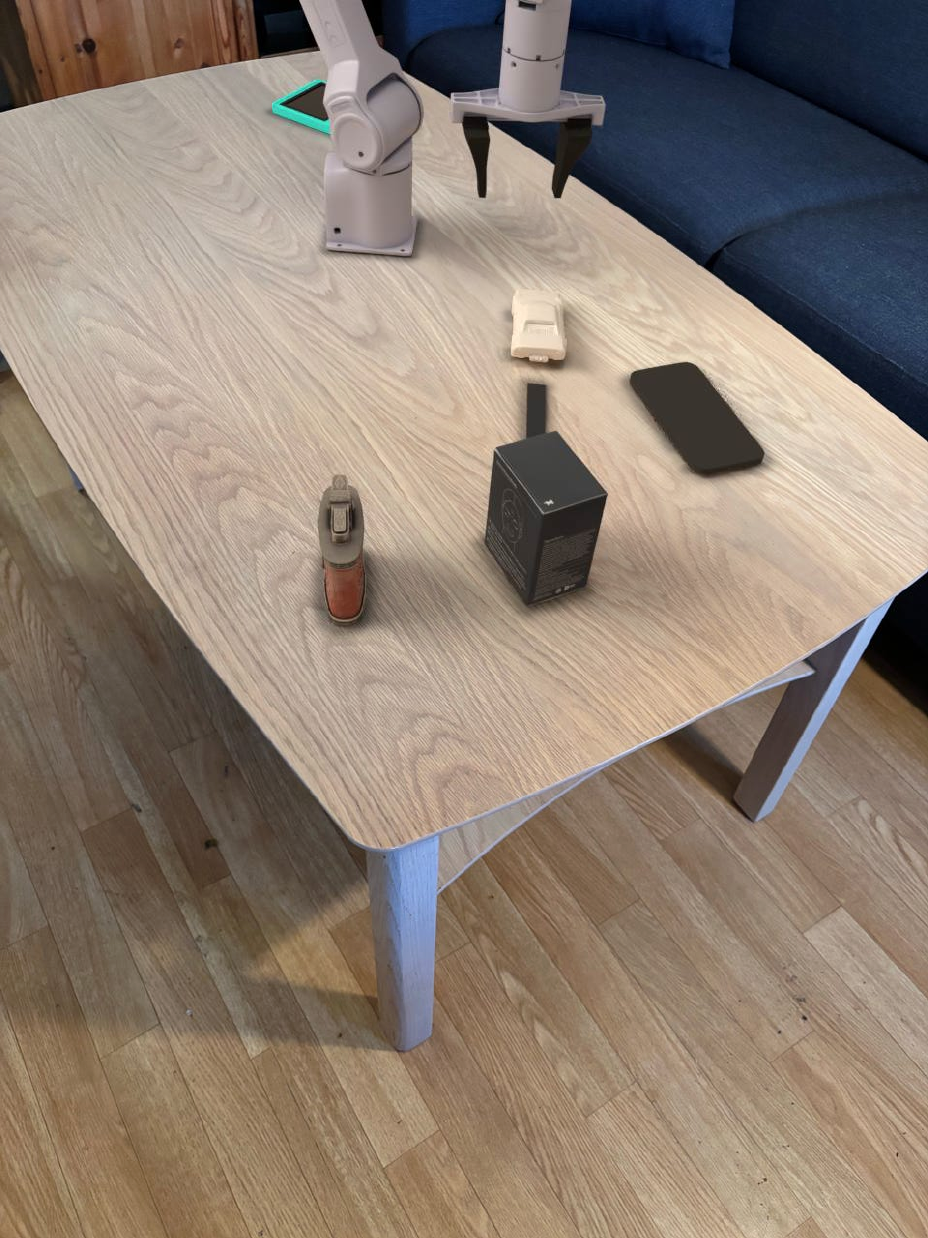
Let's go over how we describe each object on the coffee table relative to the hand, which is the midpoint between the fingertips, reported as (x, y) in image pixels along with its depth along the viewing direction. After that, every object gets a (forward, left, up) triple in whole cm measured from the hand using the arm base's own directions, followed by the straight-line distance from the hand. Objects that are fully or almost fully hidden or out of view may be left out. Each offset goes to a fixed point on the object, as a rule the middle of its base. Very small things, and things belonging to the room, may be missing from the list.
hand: (518, 193), depth 98 cm
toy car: (+3, -11, -10) cm, 15 cm away
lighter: (-12, -46, -10) cm, 48 cm away
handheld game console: (-23, +34, -10) cm, 42 cm away
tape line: (+3, -26, -9) cm, 28 cm away
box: (+3, -42, -10) cm, 43 cm away
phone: (+18, -22, -9) cm, 30 cm away
